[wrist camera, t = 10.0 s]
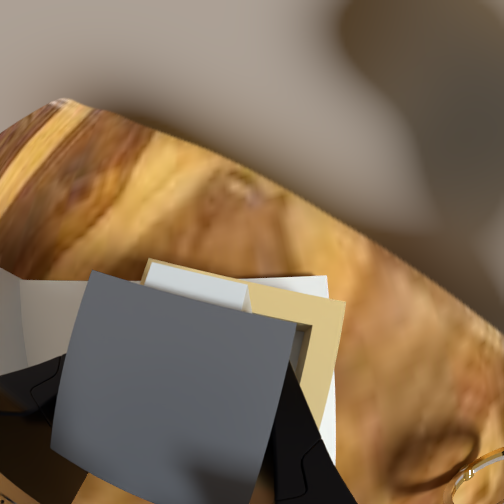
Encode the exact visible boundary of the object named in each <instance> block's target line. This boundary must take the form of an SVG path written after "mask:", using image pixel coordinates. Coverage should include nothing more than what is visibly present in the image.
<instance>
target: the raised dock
mask: <svg viewBox="0 0 504 504" xmlns="http://www.w3.org/2000/svg"><path fill="white" fill-rule="evenodd" d="M20 280H23V279H21V278H19V277H17V276H15V275H13V274H11V273H9V272H7V271H6V270H4V269H2V268H0V375H4V374H7V373H11V372H14V371H18V370H21V369H25V368H28V363H27V357H26V350H25V343H24V336H23V327H22V316H21V303H20Z"/></svg>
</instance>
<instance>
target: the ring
mask: <svg viewBox="0 0 504 504" xmlns="http://www.w3.org/2000/svg"><path fill="white" fill-rule="evenodd" d="M503 459H504V447H502V448H499V449H497V450H494V451H492V452H490V453H488V454H486V455H484V456H482V457H480V458H478V459H477V460H475V461H473V462H472V463H470V464H469V465H468V464H467V465H464V466H463V467H461V468H460V469H459V472H458V473H457V474H456V475H455V476H454V477H453V478H452V479H451V480H450V482H449V483H448V485H447V486H446V488H445V491H444V494H443V504H454V503H453V496H454V494H455V492H456V490H457V489H458V487H459V486H460V485H461V484H462V483H463V482H464V481H468V480H469V479H471V478H472V477H473V476H474V473H475V472H477V471H478V470H480V469H482V468H484V467H485V466H487V465H490V464H492V463H494V462H497V461H500V460H503ZM497 504H504V499H503V500H501V501H500V502H498V503H497Z"/></svg>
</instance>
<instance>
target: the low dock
mask: <svg viewBox="0 0 504 504" xmlns="http://www.w3.org/2000/svg"><path fill="white" fill-rule="evenodd" d="M152 262H154V263H158V264H162V265H166V266H170V267H174V268H179V269H183V270H187V271H191V272H195V273H199V274H203V275H208V276H212V277H216V278H221V279H225V280H229V281H234V282H238V283H242V284H247V285H248V289H249V296H250V302H251V308H252V314H256V315H261V316H265V317H270V318H274V319H279V320H284V321H288V322H293V323H297V325H296V330H295V335H294V339H293V344H292V348H291V353H290V357H289V360H290V362H291V365H292V367H293V369H294V372H295V374H296V377H297V379H298V382H299V384H300V386H301V389H302V391H303V394H304V396H305V398H306V401H307V403H308V406H309V408H310V410H311V413H312V415H313V418H314V420H315V422H316V425H317V427H318V430H319V429H320V425H321V421H322V417H323V414H324V410H325V406H326V402H327V397H328V393H329V389H330V385H331V380H332V376H333V371H334V366H335V362H336V357H337V352H338V346H339V341H340V336H341V330H342V324H343V318H344V312H345V306H346V302H343V301H338V300H333V299H328V298H323V297H318V296H313V295H309V294H304V293H299V292H294V291H289V290H285V289H280V288H275V287H271V286H266V285H262V284H257V283H253V282H248V281H244V280H239V279H235V278H230V277H226V276H222V275H217V274H213V273H209V272H204V271H200V270H196V269H192V268H188V267H183V266H179V265H175V264H171V263H167V262H163V261H159V260H155V259H151V258H149V259H148V262H147V265H146V267H145V270H144V273H143V276H142V279H141V282H140V285H144V284H145V281H146V278H147V275H148V272H149V269H150V266H151V264H152Z"/></svg>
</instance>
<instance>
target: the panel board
mask: <svg viewBox="0 0 504 504" xmlns="http://www.w3.org/2000/svg"><path fill="white" fill-rule="evenodd" d="M239 280H244V281H248V282H253V283H257V284H262V285H266V286H271V287H275V288H280V289H285V290H289V291H294V292H299V293H304V294H309V295H313V296H318V297H323V298H328V299H329V294H328V284H327V275H326V276H305V277H282V278H255V279H239ZM130 282H133V283H137V284H140V282H141V281H130ZM87 283H88V281H52V280H20V303H21V316H22V327H23V336H24V343H25V350H26V357H27V363H28V367H31V366H34V365H37V364H40V363H43V362H45V361H48V360H50V359H53V358H55V357H58V356H62V355H63V354H65V353H67V349H68V345H69V342H70V338H71V334H72V331H73V327H74V323H75V320H76V317H77V313H78V310H79V307H80V304H81V301H82V298H83V295H84V292H85V289H86V286H87ZM319 432H320V434H321V437H322V438H321V439H323V441H324V444H325V446H326V449H327V451H328V453H329V455H330V457H331V459H332V461H333V464H334V465H335V457H336V415H335V380H334V371H333V376H332V380H331V385H330V389H329V393H328V397H327V402H326V406H325V410H324V414H323V417H322V421H321V425H320V429H319Z"/></svg>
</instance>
